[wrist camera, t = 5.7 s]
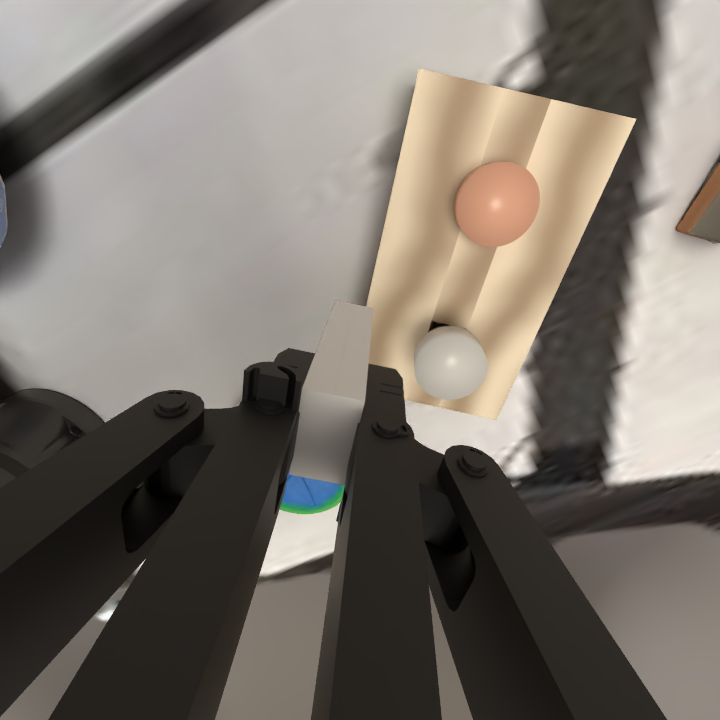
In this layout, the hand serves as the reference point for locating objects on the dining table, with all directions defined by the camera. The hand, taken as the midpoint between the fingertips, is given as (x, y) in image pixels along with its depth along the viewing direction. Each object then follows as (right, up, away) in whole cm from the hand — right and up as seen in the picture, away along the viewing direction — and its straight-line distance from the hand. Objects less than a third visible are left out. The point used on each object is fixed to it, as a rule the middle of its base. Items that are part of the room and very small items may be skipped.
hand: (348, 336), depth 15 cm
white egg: (+8, +1, +18) cm, 20 cm away
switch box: (+9, +8, +20) cm, 23 cm away
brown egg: (+10, +12, +16) cm, 22 cm away
